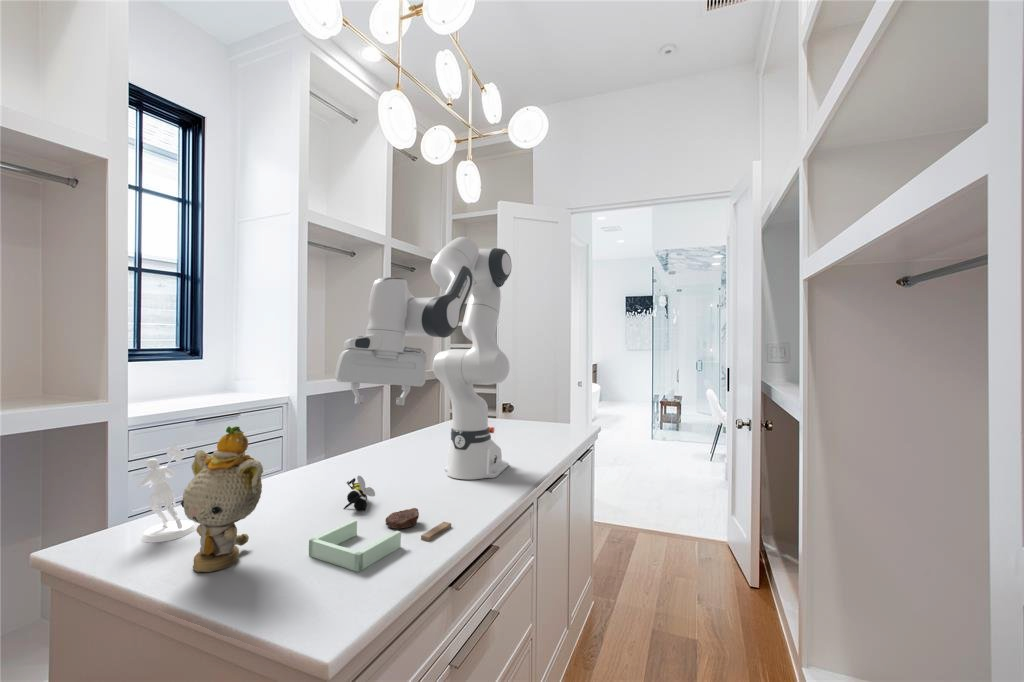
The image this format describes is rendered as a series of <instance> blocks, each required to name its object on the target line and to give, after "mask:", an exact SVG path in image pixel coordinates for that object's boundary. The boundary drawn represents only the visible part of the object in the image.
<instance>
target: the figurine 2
mask: <svg viewBox="0 0 1024 682" xmlns="http://www.w3.org/2000/svg"><path fill="white" fill-rule="evenodd" d="M225 432H226V434H224V435H223V436H222V437H221V438H219V440H218V441H217V445H216V446H217V447H216V448H217V449H216V450H214V451H213V453H212V454H213V455H211V454H209V453H207V452H206V451H204V450H202V449H198V450H197V451H196V452H195V453H194V455H193V456H194V460H193V462H192V464H191V470H192V473H193V475H194V477H192V479H191V480H190V481H189V483H188V485H187V486H186V487H185V488H184V490H183V493H182V501H181V502H180V504H181V507H182V508H183V511H184V514H185V516H186V517H187V519H188V520H189V521H192V522H193V523H197V524H199V525H197V526H196V529H195V531H196V533H197V534H198V536H199V537H200V539H199V540H200V541H199V542H200V548H199V551H198V552H197V553H196V554H195V556H194V557H193V565H192V569H193V570H194V571H195V572H197V573H198V572H199V573H210V572H216V571H220V570H224V569H228V568H230V567H232V566H234V565H236V564H237V563H238V562H239V560H240V558H239V557H240V556H239V553H240V549H239V548H238V546H240V547H241V546H244V545H245V544H247V543H248V541H249V538H250V537H249V535H248V534H247V533H242V534H240V535H239V534H238V528H237V526H236V524H235V523H237V522H239V521H241V520H245V519H246V518H247V517H248V516H249V515H251V514H252V513H253V512H254V511H255V509H256V508H257V505H258V504H259V502H260V499H261V496H262V493H263V489H262V488H263V483H262V474H264V468H263V465H262V463H261V461H259V460H256V459H255V458H253V457H251V456H250V455H249V454H246V451H247V449H248V448H249V439H248V436H246V434H244V431H242V430H241V428H240V426H233V427H231V426H227V428H226V430H225Z"/></svg>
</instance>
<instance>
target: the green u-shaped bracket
mask: <svg viewBox="0 0 1024 682" xmlns="http://www.w3.org/2000/svg"><path fill="white" fill-rule="evenodd" d="M357 535H358V520H357V519H352V520H350V521H347V522H346V523H343V524H341V525H339V526H337V527H335V528H332V529H331V530H328V531H326V532H324V533H321V534H320V535H317V536H315V537H313V538H311V539H308V557H311V558H314V559H318V560H321V561H323V562H327V563H330V564H333V565H336V566H339V567H342V568H345V569H348V570H351V571H354V572H357V573H359V572H361V571H363V570H365V569H366V568H368V567H369V566H371V565H372V564H375V563H376V562H378V561H379V560H381V559H382V558H384V557H387V556H388V555H389V554H391V553H392V552H394V551H396V550H398V549H399V548H401V546H402V544H401V543H402V542H401V541H402V539H401V537H402V533H401V531H399V530H395V531H394V532H392V533H390V534H388V535H387V536H384V537H383V538H380V539H379V540H377V541H375V542H374V543H372V544H370V545H368V546H366V547H365V548H363V549H361V550H360V551H358V550H355V549H351V548H348V547H345V546H341V545H339V544H342V543H344V542H346V541H347V540H349V539H351V538H353V537H355V536H357Z"/></svg>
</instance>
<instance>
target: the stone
mask: <svg viewBox="0 0 1024 682" xmlns="http://www.w3.org/2000/svg"><path fill="white" fill-rule="evenodd" d="M419 517H420V513H419V509H418V508H416V507H413V508H409V509H404V510H399V511H394V512H392V513H390V514H389V515H388V516H386V518H385V525H386V526H388V527H389V528H391V529H395V530H400V529H408V528H410V527H415V526H416V525H417V523H418V520H419Z"/></svg>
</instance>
